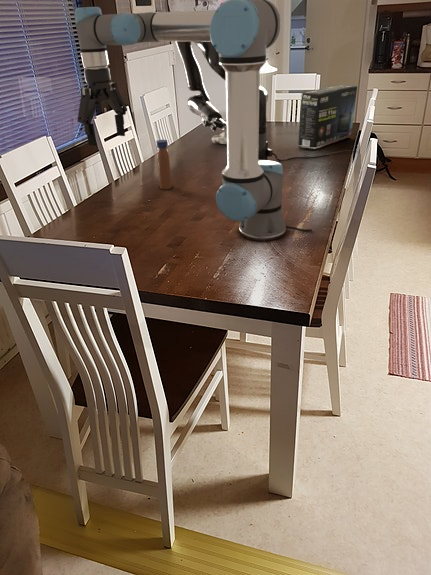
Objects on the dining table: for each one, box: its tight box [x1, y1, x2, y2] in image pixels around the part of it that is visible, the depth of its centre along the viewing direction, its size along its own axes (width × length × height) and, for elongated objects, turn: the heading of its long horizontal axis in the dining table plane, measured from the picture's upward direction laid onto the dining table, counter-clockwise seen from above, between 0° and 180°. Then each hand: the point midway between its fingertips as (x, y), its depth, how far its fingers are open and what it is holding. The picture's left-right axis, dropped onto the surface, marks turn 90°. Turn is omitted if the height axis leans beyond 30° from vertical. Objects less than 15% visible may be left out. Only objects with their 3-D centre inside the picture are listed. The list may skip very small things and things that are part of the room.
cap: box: [155, 139, 169, 149], centre depth 182 cm, size 4×4×2 cm
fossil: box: [211, 131, 227, 145], centre depth 252 cm, size 18×11×15 cm
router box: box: [297, 84, 358, 151], centre depth 238 cm, size 36×11×27 cm, turn 134°
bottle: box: [156, 147, 173, 190], centre depth 187 cm, size 5×5×19 cm
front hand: (107, 140), depth 148 cm, fingers open, 13 cm apart
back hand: (224, 131), depth 192 cm, fingers open, 8 cm apart
